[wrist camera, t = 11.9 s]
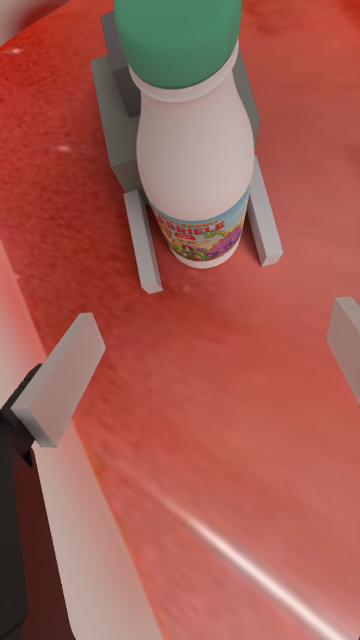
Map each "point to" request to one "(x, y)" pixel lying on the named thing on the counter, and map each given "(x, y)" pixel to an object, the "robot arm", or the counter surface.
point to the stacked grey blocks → (121, 141)
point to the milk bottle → (190, 122)
